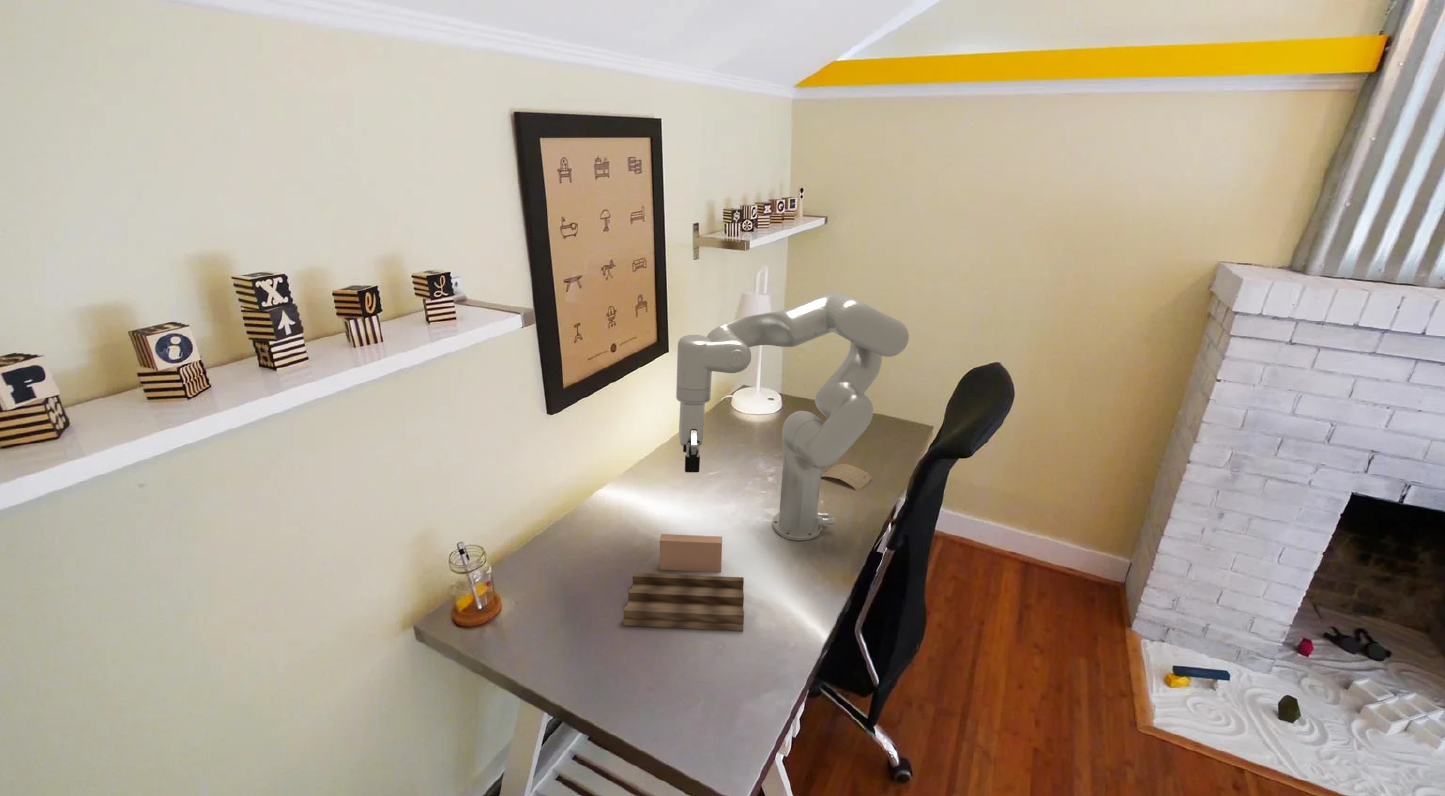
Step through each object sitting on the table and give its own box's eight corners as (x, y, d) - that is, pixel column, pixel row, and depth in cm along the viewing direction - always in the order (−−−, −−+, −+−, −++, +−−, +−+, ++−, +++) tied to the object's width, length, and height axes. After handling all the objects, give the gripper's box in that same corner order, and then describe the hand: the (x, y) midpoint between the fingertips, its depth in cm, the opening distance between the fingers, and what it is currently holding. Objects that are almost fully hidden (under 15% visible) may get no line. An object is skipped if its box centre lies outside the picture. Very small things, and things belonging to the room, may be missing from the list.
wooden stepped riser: (742, 589, 129) (743, 576, 128) (743, 630, 118) (744, 617, 117) (634, 584, 130) (633, 571, 128) (623, 625, 118) (623, 611, 117)
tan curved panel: (874, 480, 177) (875, 472, 176) (860, 494, 170) (861, 485, 169) (830, 466, 185) (831, 458, 184) (815, 478, 177) (816, 470, 176)
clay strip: (721, 565, 137) (722, 536, 134) (721, 572, 135) (722, 543, 132) (661, 562, 137) (661, 534, 134) (659, 569, 135) (659, 540, 132)
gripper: (675, 378, 137) (673, 444, 143) (677, 406, 121) (675, 480, 127) (707, 378, 137) (704, 445, 144) (714, 407, 121) (710, 480, 128)
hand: (690, 461), depth 135 cm, fingers open, 9 cm apart
